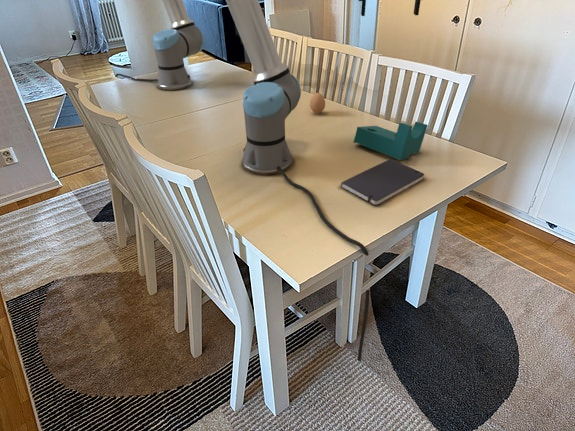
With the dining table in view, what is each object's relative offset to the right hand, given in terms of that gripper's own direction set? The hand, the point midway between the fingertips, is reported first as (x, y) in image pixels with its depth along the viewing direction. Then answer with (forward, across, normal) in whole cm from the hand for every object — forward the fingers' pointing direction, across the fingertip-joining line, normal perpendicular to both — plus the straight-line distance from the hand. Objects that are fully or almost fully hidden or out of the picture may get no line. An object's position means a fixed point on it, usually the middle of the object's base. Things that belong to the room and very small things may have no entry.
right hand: (389, 15), depth 105 cm
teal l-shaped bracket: (+41, +5, +5) cm, 41 cm away
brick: (+28, -47, +67) cm, 87 cm away
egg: (+41, -18, +35) cm, 57 cm away
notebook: (+41, +1, -17) cm, 44 cm away
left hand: (+25, -47, +67) cm, 86 cm away
